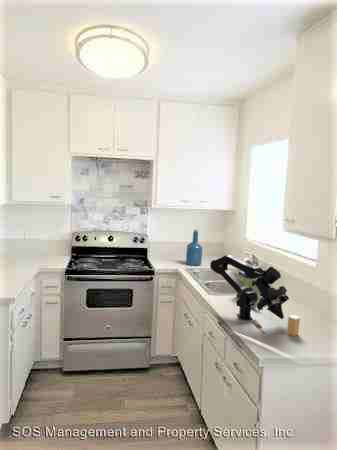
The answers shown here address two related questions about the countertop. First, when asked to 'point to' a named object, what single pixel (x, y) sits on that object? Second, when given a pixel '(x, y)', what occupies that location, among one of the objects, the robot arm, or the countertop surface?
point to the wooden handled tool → (257, 325)
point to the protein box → (248, 283)
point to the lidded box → (293, 325)
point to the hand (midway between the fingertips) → (282, 318)
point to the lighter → (257, 302)
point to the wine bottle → (194, 251)
